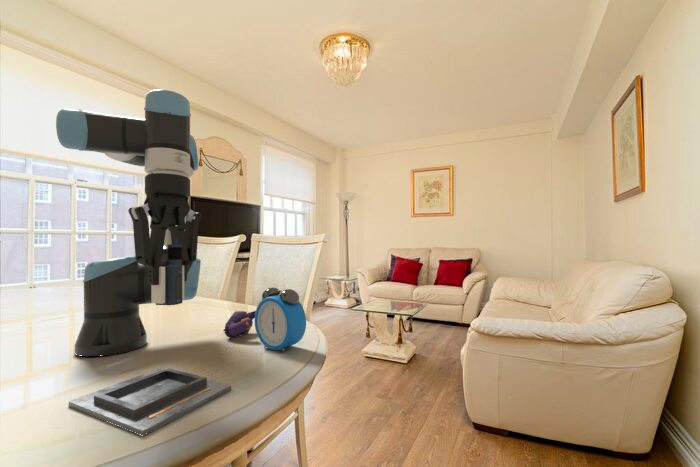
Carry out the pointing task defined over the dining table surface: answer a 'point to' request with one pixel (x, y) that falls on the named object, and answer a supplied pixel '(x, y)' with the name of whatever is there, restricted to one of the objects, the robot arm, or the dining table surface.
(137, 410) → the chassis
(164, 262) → the vaping device
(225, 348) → the dining table surface
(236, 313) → the toy
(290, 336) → the alarm clock
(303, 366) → the dining table surface
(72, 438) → the dining table surface
